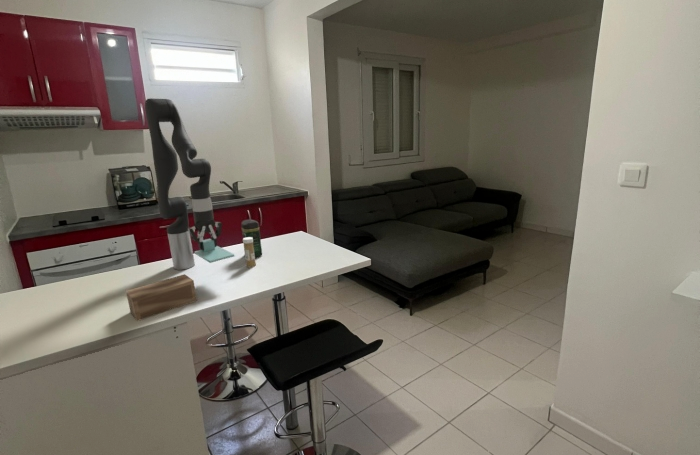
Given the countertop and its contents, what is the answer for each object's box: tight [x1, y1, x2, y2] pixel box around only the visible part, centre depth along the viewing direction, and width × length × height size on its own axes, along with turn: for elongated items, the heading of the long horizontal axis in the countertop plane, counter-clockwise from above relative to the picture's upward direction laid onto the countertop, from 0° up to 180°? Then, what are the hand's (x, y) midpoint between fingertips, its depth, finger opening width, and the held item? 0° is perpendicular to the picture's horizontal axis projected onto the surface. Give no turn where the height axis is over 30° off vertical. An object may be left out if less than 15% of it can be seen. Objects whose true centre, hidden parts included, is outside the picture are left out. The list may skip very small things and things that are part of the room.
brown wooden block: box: [125, 273, 198, 322], centre depth 128 cm, size 9×20×8 cm, turn 133°
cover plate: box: [193, 238, 235, 264], centre depth 145 cm, size 16×10×5 cm, turn 43°
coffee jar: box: [240, 218, 263, 259], centre depth 178 cm, size 10×8×19 cm
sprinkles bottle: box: [242, 237, 257, 268], centre depth 165 cm, size 5×5×14 cm
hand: (208, 248), depth 149 cm, fingers closed on cover plate, 4 cm apart
